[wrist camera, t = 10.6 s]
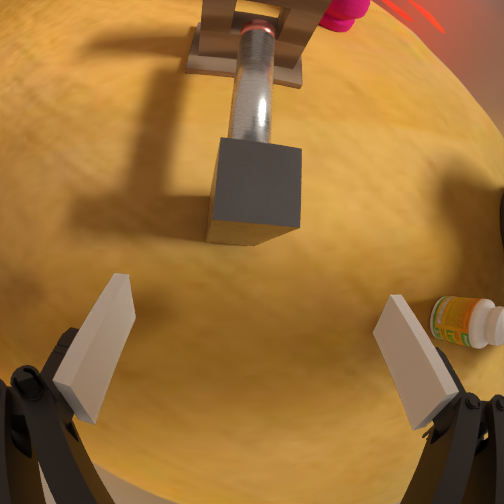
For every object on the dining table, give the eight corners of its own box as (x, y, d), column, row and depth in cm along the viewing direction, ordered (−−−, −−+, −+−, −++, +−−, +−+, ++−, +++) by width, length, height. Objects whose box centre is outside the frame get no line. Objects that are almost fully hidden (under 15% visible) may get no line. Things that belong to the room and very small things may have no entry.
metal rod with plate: (254, 245, 24) (299, 227, 13) (205, 242, 23) (212, 219, 12) (264, 76, 25) (296, 0, 14) (225, 70, 24) (243, -11, 14)
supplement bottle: (422, 330, 27) (486, 345, 18) (438, 288, 28) (502, 291, 19) (444, 344, 28) (502, 358, 19) (459, 305, 29) (517, 310, 19)
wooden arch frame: (299, 88, 26) (354, 5, 13) (185, 73, 24) (188, -28, 11) (298, 41, 27) (339, -35, 14) (198, 26, 25) (207, -60, 12)
